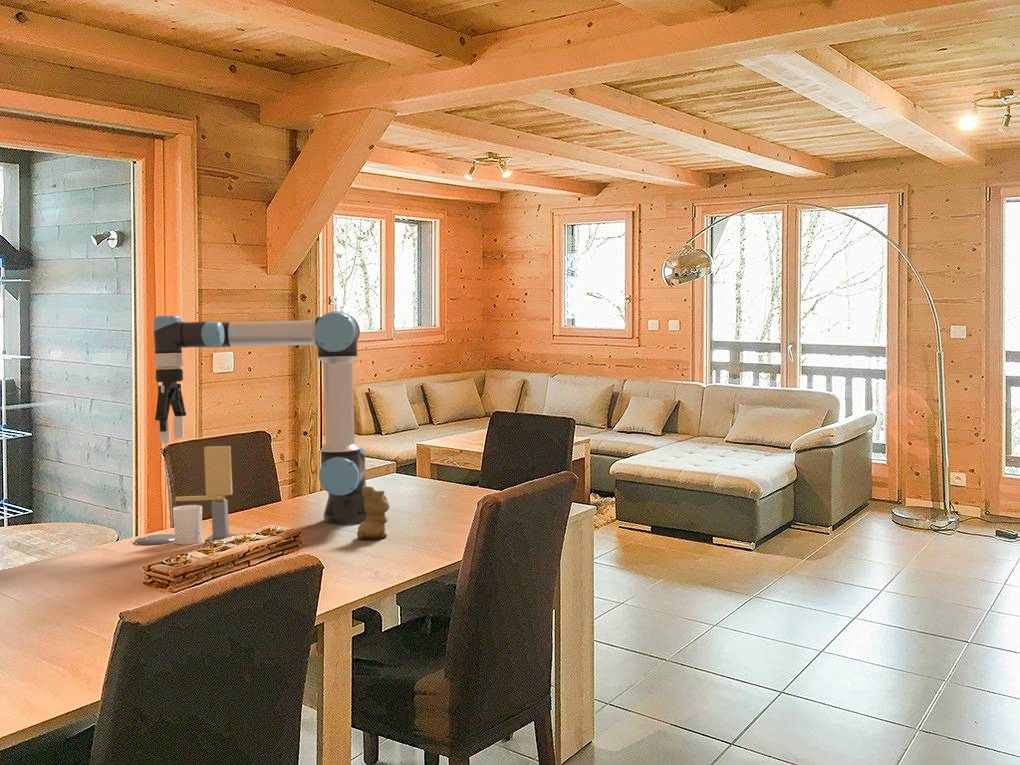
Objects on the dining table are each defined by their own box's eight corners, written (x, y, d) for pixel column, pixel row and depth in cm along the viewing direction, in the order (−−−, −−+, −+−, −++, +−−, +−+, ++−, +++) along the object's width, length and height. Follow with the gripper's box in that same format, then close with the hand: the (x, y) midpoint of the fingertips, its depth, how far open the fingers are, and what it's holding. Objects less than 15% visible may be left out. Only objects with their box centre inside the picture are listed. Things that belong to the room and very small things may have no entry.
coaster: (184, 535, 270) (184, 533, 270) (172, 544, 258) (172, 542, 258) (143, 536, 269) (143, 534, 269) (128, 545, 257) (128, 543, 257)
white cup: (194, 545, 255) (192, 510, 255) (168, 545, 257) (167, 509, 257) (208, 539, 263) (207, 505, 263) (183, 539, 265) (182, 504, 264)
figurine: (397, 535, 262) (396, 483, 261) (384, 542, 254) (382, 488, 253) (367, 534, 265) (365, 482, 265) (352, 540, 257) (350, 487, 257)
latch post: (236, 538, 264) (235, 498, 264) (230, 543, 257) (229, 502, 257) (211, 538, 264) (210, 499, 263) (205, 544, 257) (203, 503, 256)
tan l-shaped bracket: (233, 498, 262) (231, 445, 261) (230, 500, 259) (228, 446, 258) (178, 500, 261) (175, 447, 260) (174, 502, 258) (172, 448, 257)
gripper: (169, 367, 281) (172, 436, 282) (141, 369, 256) (144, 445, 257) (194, 366, 282) (196, 435, 283) (168, 369, 257) (172, 444, 258)
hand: (172, 440), depth 270 cm, fingers open, 13 cm apart
